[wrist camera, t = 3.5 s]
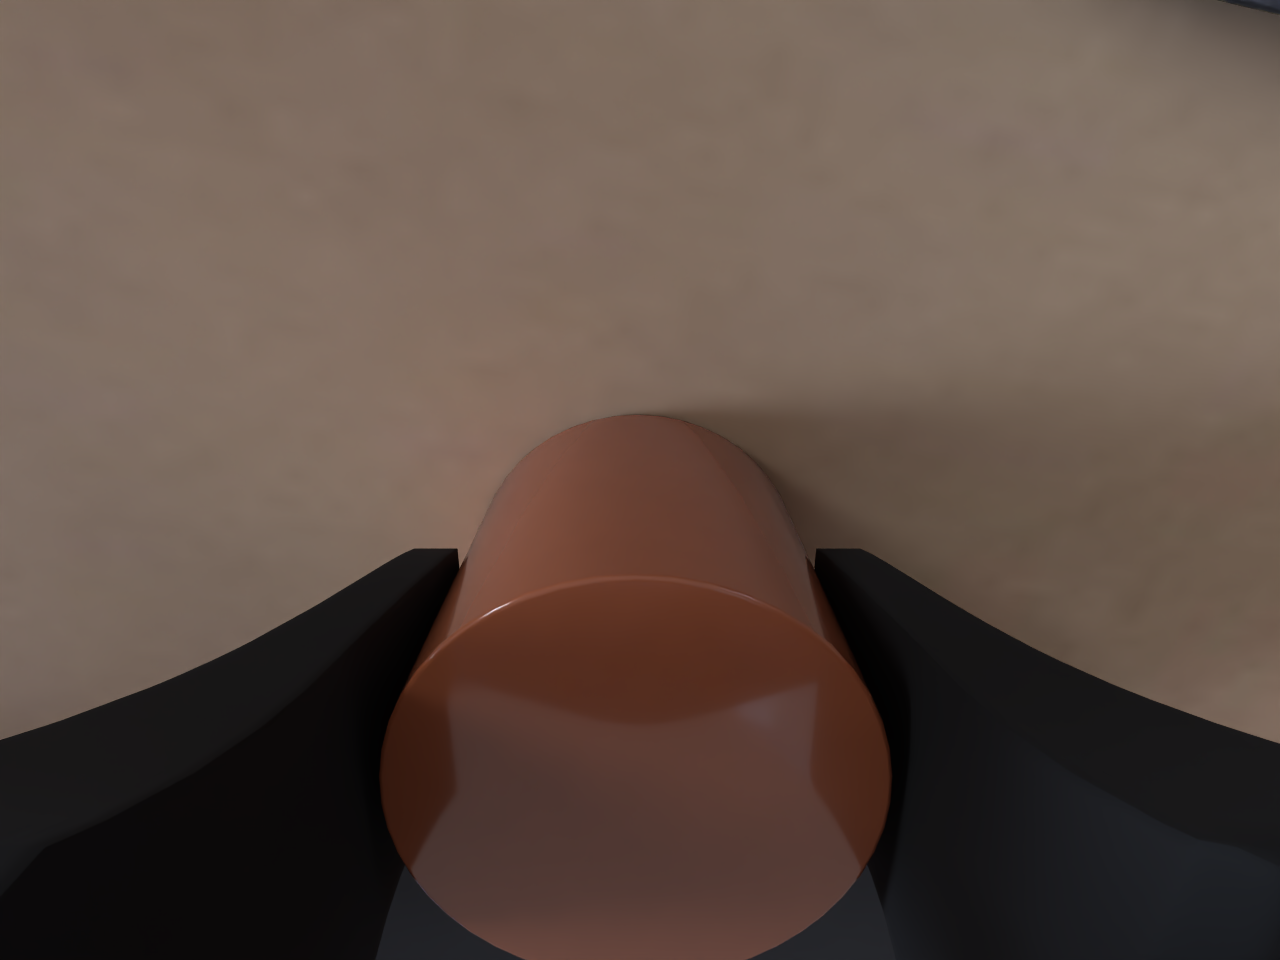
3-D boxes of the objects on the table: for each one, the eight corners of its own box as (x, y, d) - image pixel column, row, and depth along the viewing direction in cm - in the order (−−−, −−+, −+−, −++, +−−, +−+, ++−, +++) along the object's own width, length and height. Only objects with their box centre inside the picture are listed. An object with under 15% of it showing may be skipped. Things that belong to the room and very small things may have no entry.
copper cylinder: (491, 695, 13) (406, 982, 8) (467, 413, 11) (342, 576, 6) (783, 695, 13) (865, 982, 8) (806, 413, 11) (927, 575, 6)
